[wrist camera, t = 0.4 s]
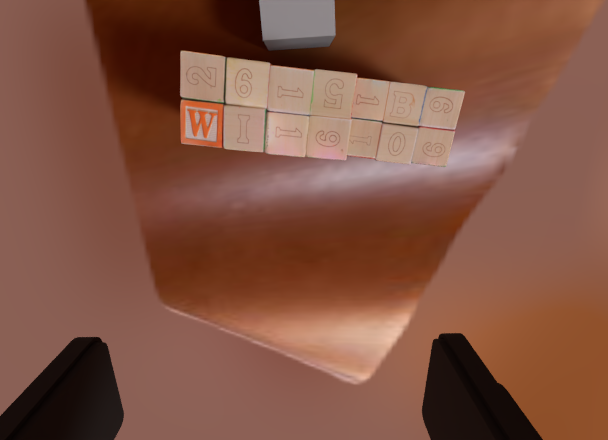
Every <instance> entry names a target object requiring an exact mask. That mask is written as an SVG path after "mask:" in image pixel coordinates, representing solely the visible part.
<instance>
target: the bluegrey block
mask: <svg viewBox="0 0 608 440" xmlns="http://www.w3.org/2000/svg"><path fill="white" fill-rule="evenodd" d="M259 4H260V15H261V25H262V36H263V41H264V43H265V45H266V47H267V48H268V50H269V51H271V50H286V49H301V48H315V47H329V46H330V44H331V42H332V40H333V39H334V37H335V6H334V0H259Z"/></svg>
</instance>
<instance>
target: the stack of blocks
mask: <svg viewBox="0 0 608 440" xmlns="http://www.w3.org/2000/svg"><path fill="white" fill-rule="evenodd" d="M357 76H358V75H357V74H356V73H347V72H338V71H329V70H320V69H315V70H309V69H301V68H293V67H285V66H276V65H272V64H271V63H268V62H261V61H253V60H245V59H238V58H231V57H229V58H227V57H224V56H220V55H213V54H206V53H199V52H191V51H181V52H180V96H181V97H182V100H181V105H180V117H181V143H182V144H191V145H201V146H210V147H219V148H221V147H223V148H225V149H231V150H242V151H253V152H266V153H267V154H273V155H284V156H295V157H311V158H322V159H332V160H343V161H345V160H346V158H347V156H353V157H362V158H370V159H375V160H377V161H385V162H393V163H402V164H411V163H416V164H424V165H433V166H441V167H446V165H447V161H448V157H449V153H450V149H451V145H452V142H453V138H454V134H455V127H456V124H457V120H458V117H459V113H460V108H461V105H462V101H463V97H464V93H465V92H464V91H462V90H453V89H444V88H436V87H427V86H424V85H416V84H407V83H399V82H390V81H384V80H376V79H366V78H357Z"/></svg>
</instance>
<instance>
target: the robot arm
mask: <svg viewBox="0 0 608 440" xmlns="http://www.w3.org/2000/svg"><path fill="white" fill-rule="evenodd" d="M422 415H423V420H424V423H425V426H426V428H427V431H428V433H429V436H430V438H431V440H543V439H542V438H541V437H540V435H539V434H538V432H537V431H536V430H535V428H534V427H533V426H532V424H531V423H530V422H529V420H528V419H527V417H526V416H525V415H524V413H523V412H522V411H521V409H520V408H519V406H518V405H517V403H516V402H515V401H514V399H513V398H512V397H511V395H510V394H509V392H508V391H507V390H506V389H505V388H504V387H503V385H501V384H499V383H497V381H496V380H495V379H494V377H493V376H492V374H491V373H490V372H489V370H488V369H487V367H486V366H485V365H484V363H483V362H482V360H481V359H480V357H479V356H478V355H477V353H476V352H475V351H474V349H473V348H472V346H471V345H470V343H469V342H468V340H467V339H466V338H465V336H464V335H463V334H461V333H451V334H450V333H446V334H440V335H439V338H438V339H434V340H433V343H432V349H431V356H430V363H429V368H428V375H427V381H426V387H425V394H424V400H423V406H422ZM123 418H124V412H123V408H122V404H121V399H120V395H119V391H118V387H117V383H116V379H115V375H114V371H113V367H112V363H111V358H110V354H109V350H108V346H107V344H106V343H103V342H102V340H101V339H100V338H99V337H78V338H75V339H73V340H72V341H71V342H70V343H69V344H68V345H67V346H66V347H65V349H64V350H63V351H62V352H61V353H60V354H59V355H58V356H57V357H56V358H55V359H54V360H53V361H52V362H51V363H50V364H49V365H48V366H47V367H46V368H45V369H44V370H43V372H42V373H41V374H40V375H39V376H38V377H37V378H36V379H35V380H34V381H33V382H32V383H31V384H30V385H29V387H27V388H26V389H25V390H24V392H23V393H22V394H21V395H20V396H19V397H18V398H17V399H16V400H15V401H14V402H13V403H12V404H11V405H10V406H9V407H8V408H7V410H6V411H5V412H4V413H3V414H2V415H1V416H0V440H114V438H115V437H116V435H117V433H118V431H119V429H120V427H121V425H122V422H123Z"/></svg>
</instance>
